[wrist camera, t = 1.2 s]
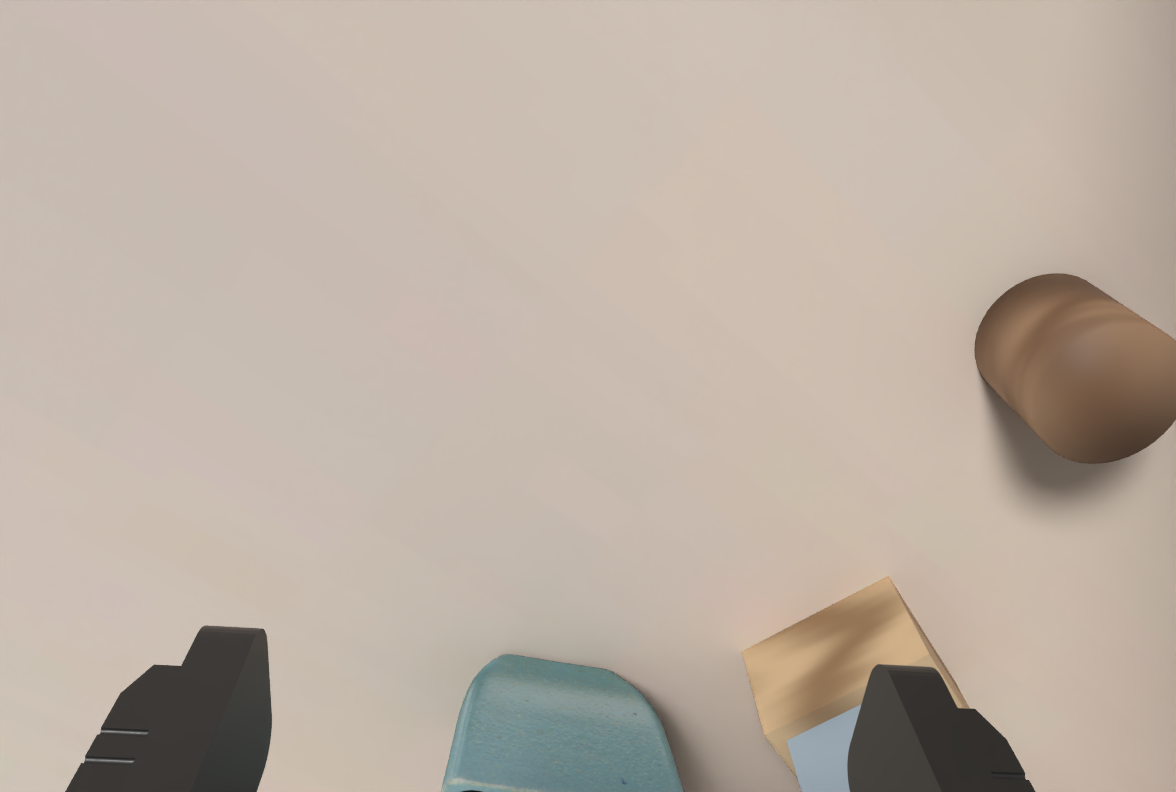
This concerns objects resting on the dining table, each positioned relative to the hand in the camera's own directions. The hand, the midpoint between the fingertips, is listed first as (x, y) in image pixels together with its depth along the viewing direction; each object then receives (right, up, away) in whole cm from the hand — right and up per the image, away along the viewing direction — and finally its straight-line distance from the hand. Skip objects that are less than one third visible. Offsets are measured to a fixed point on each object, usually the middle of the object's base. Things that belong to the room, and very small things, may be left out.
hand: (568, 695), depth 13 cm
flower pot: (-2, -10, +30) cm, 32 cm away
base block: (+12, -8, +30) cm, 33 cm away
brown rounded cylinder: (+17, +6, +23) cm, 29 cm away
